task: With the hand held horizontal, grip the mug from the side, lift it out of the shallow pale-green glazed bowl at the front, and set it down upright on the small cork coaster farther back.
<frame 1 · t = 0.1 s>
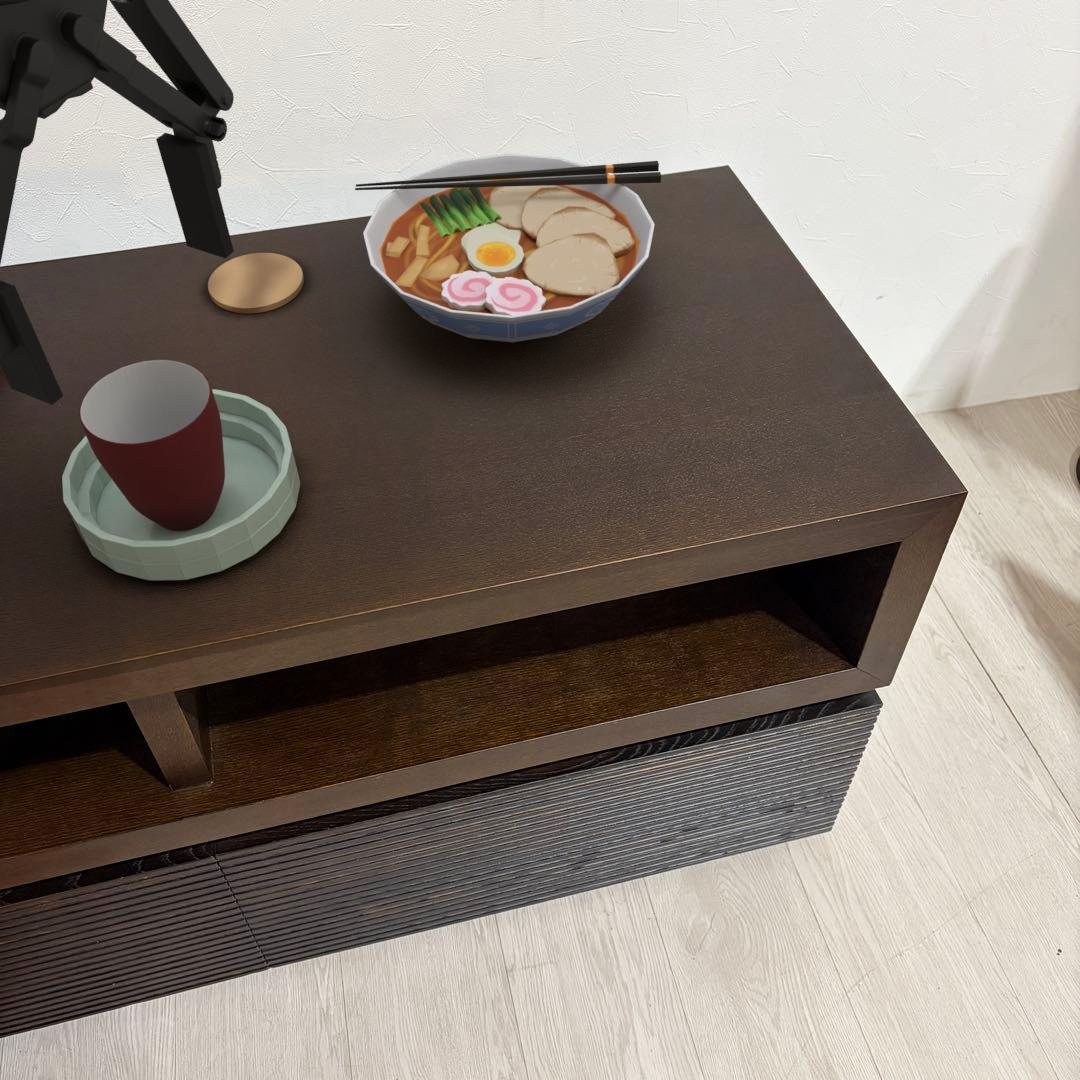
hand: (130, 316, 58), 20 cm above the table, tool pointing down, fingers open, 13 cm apart
coaster: (256, 285, 94), on the table
mug: (191, 499, 76), resting on serving bowl
ramen bowl: (512, 307, 92), on the table
serving bowl: (192, 503, 77), on the table
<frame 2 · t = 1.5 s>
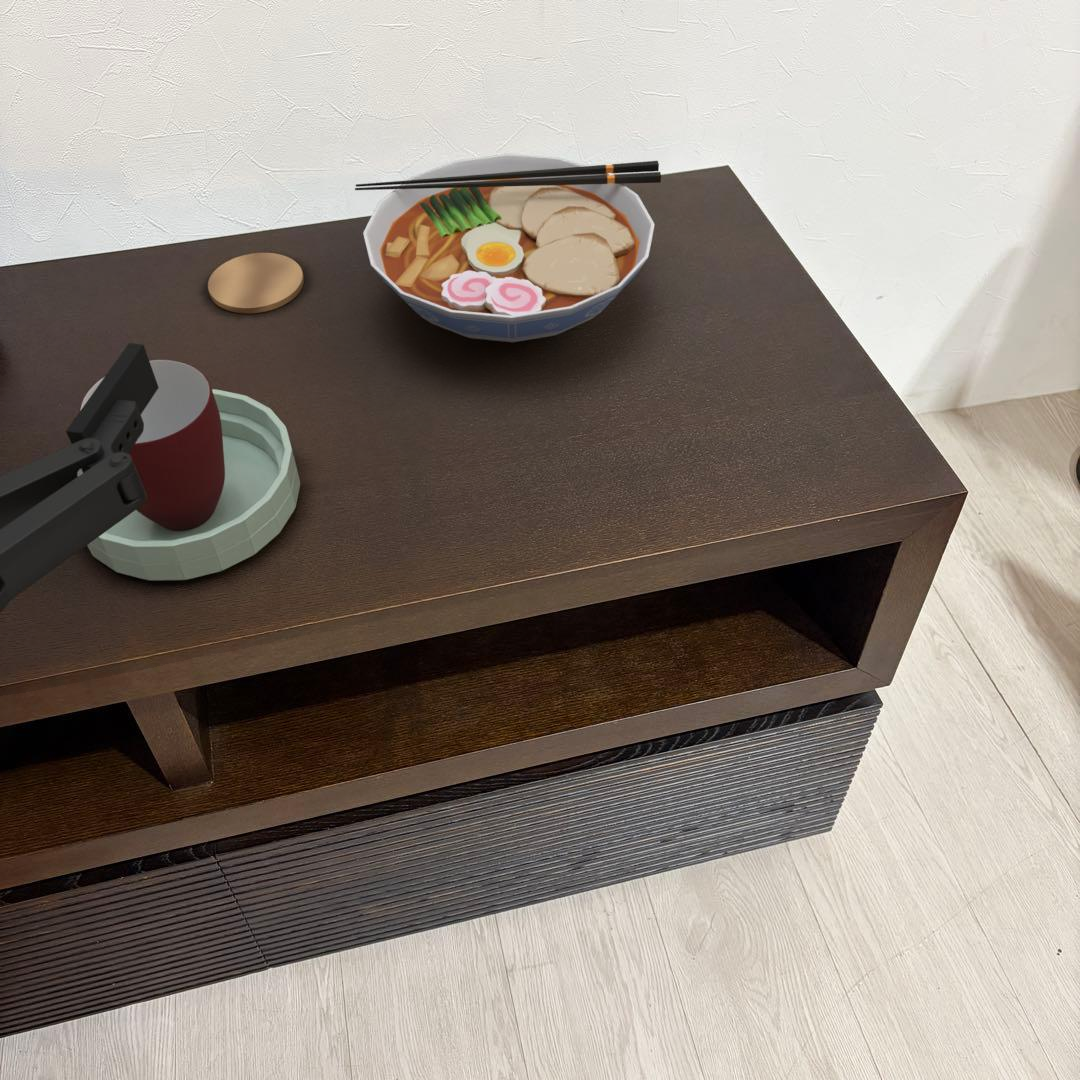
hand: (19, 350, 55), 21 cm above the table, tool horizontal, fingers open, 13 cm apart
nothing on the table moved.
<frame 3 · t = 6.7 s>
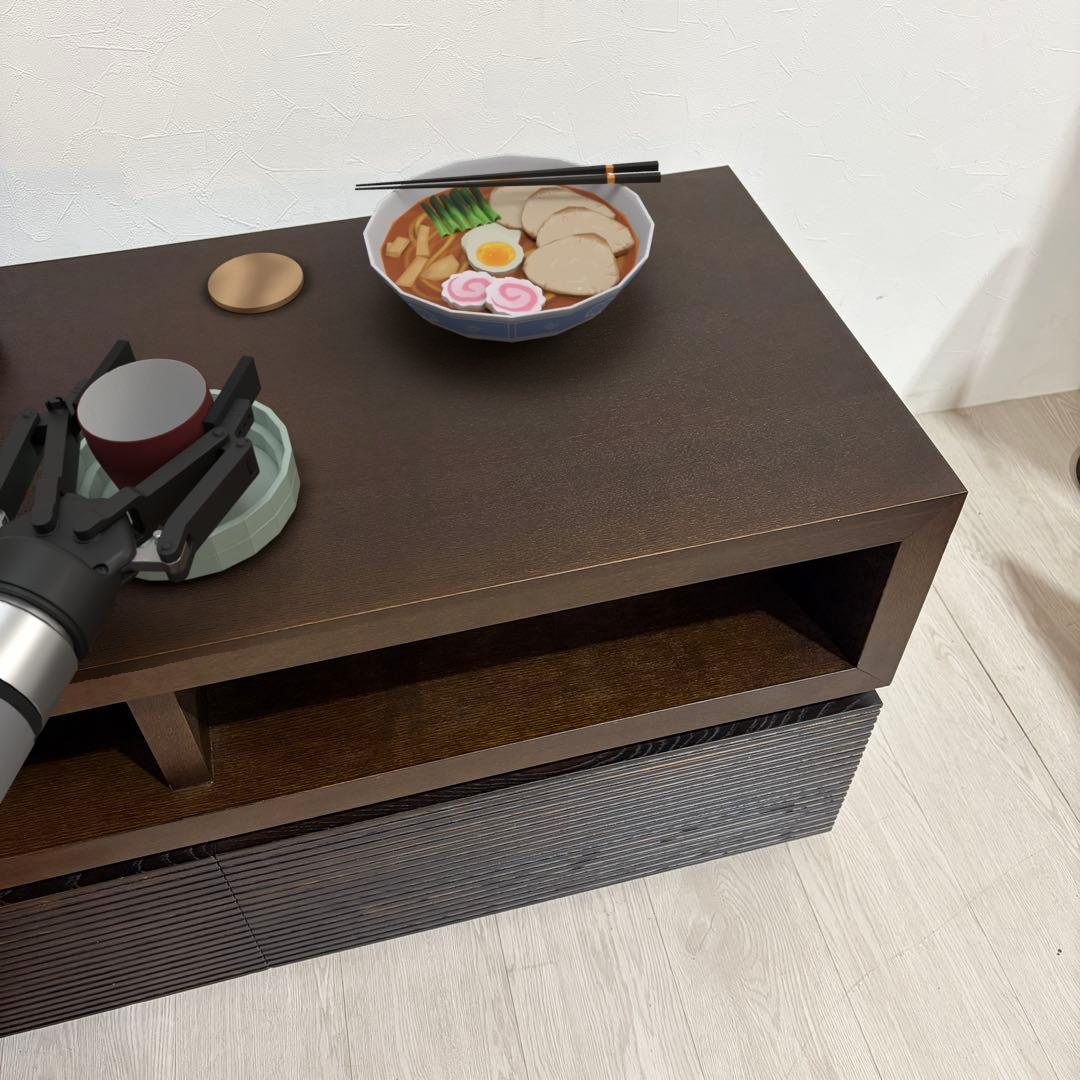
hand: (190, 364, 73), 9 cm above the table, tool horizontal, fingers closed on mug, 8 cm apart
mug: (191, 499, 76), resting on serving bowl, touching gripper
everything else where it was.
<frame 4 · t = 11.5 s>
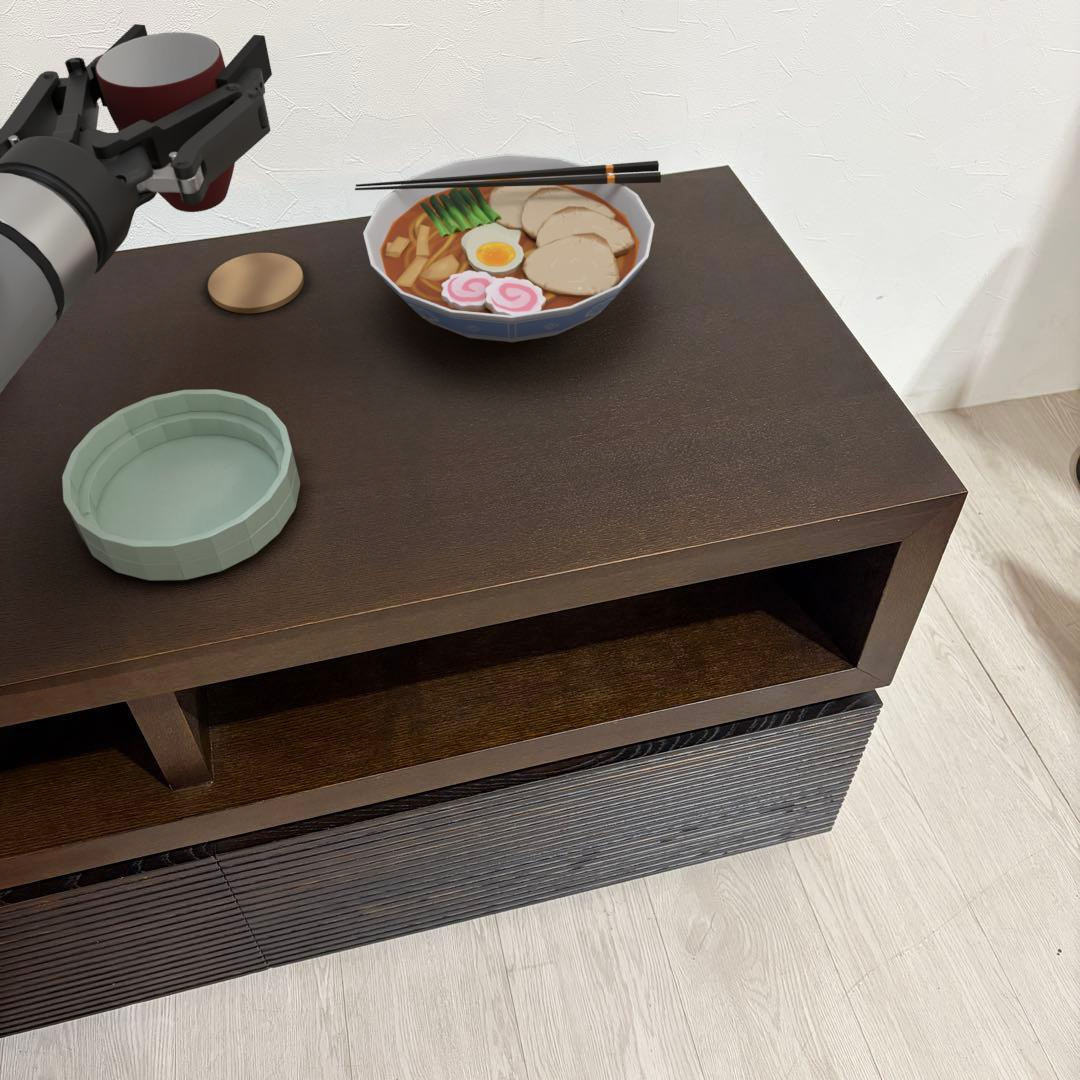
hand: (203, 49, 76), 21 cm above the table, tool horizontal, fingers closed on mug, 8 cm apart
mug: (203, 191, 79), point 13 cm above the table, touching gripper
everything else where it was.
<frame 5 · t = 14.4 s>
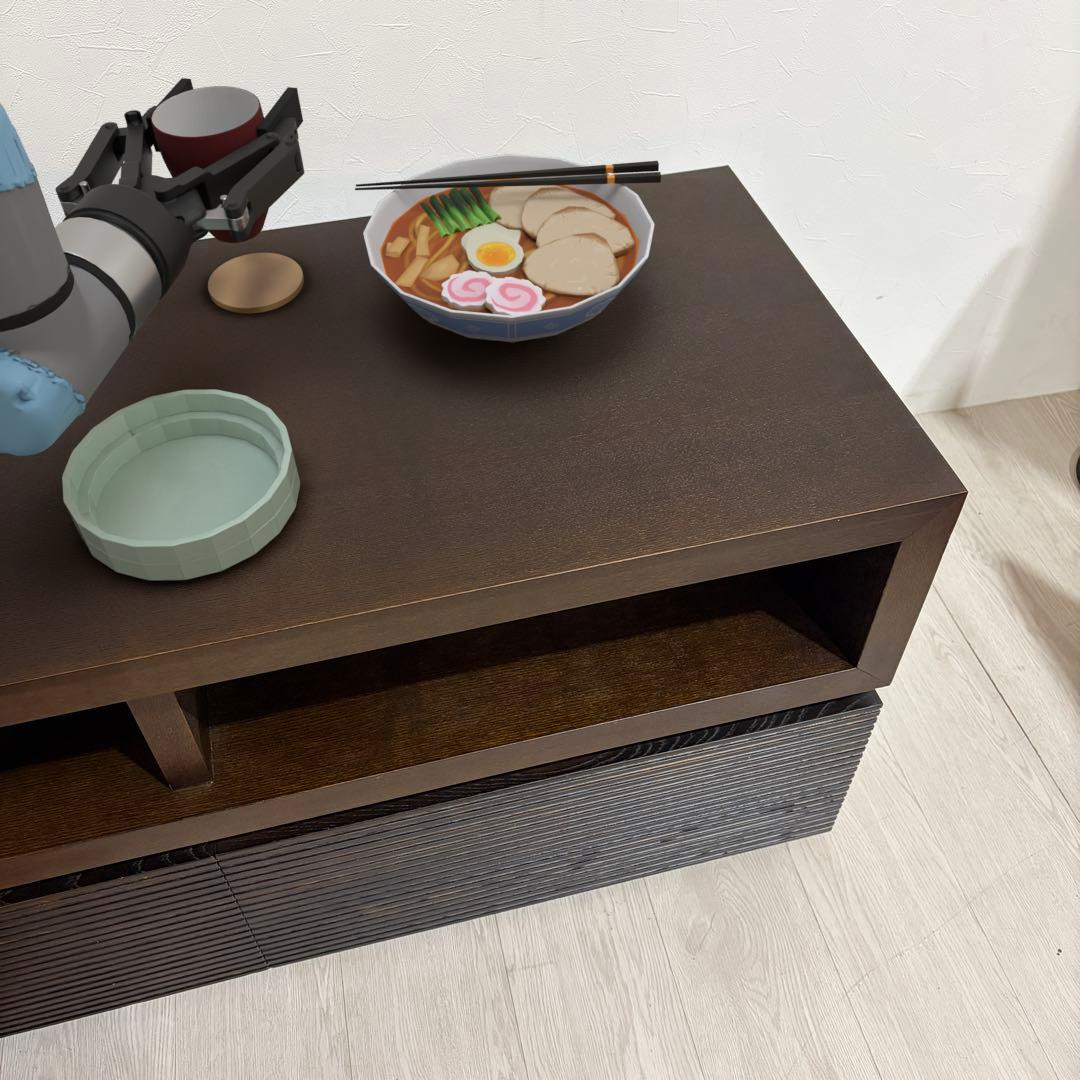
hand: (242, 99, 86), 14 cm above the table, tool horizontal, fingers closed on mug, 8 cm apart
mug: (242, 223, 89), point 6 cm above the table, touching gripper
everything else where it was.
when the fingers open (8 cm above the table, at t = 16.5 s): mug stays where it is, resting on coaster.
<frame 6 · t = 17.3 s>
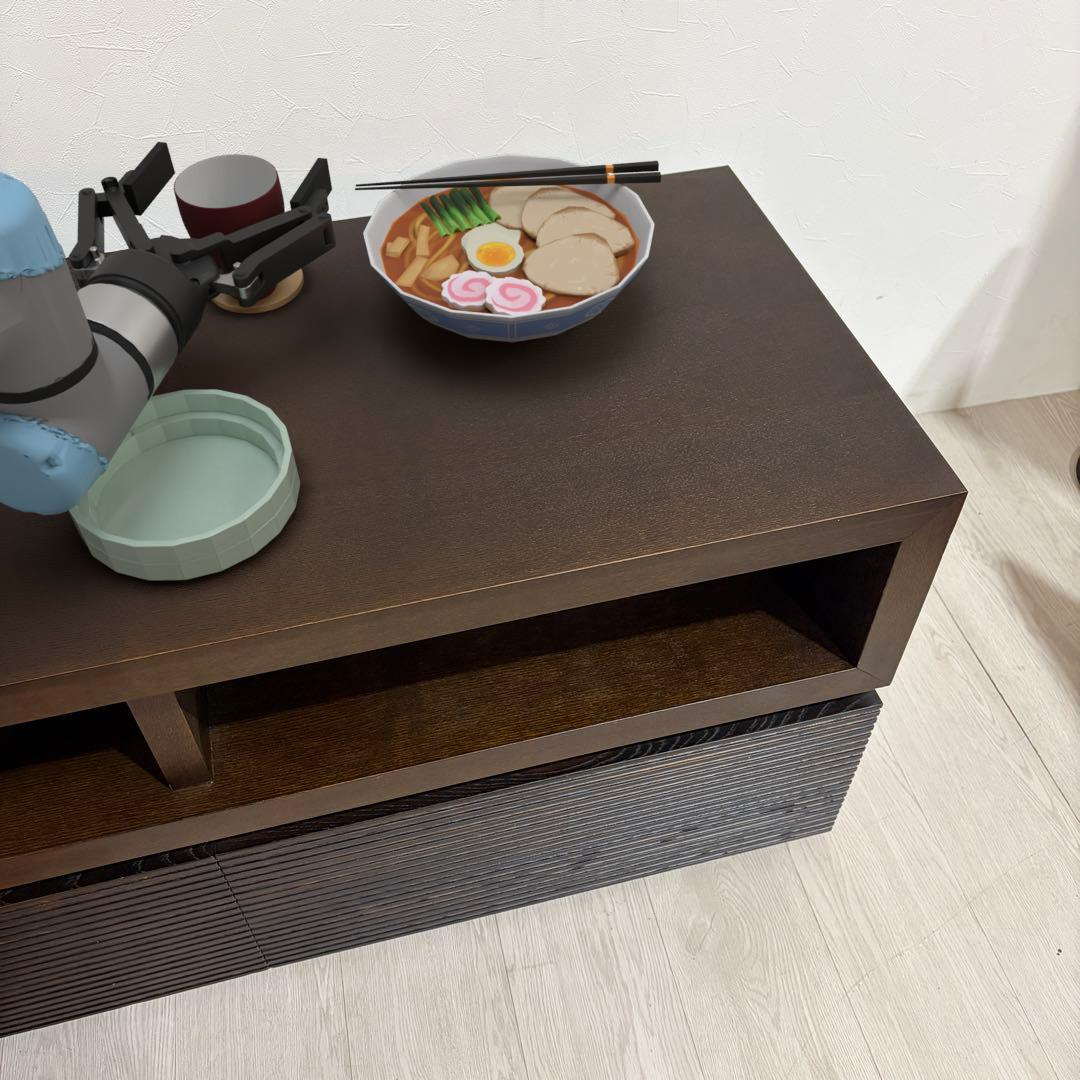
hand: (245, 165, 89), 9 cm above the table, tool horizontal, fingers open, 13 cm apart
mug: (256, 281, 93), resting on coaster
everything else where it was.
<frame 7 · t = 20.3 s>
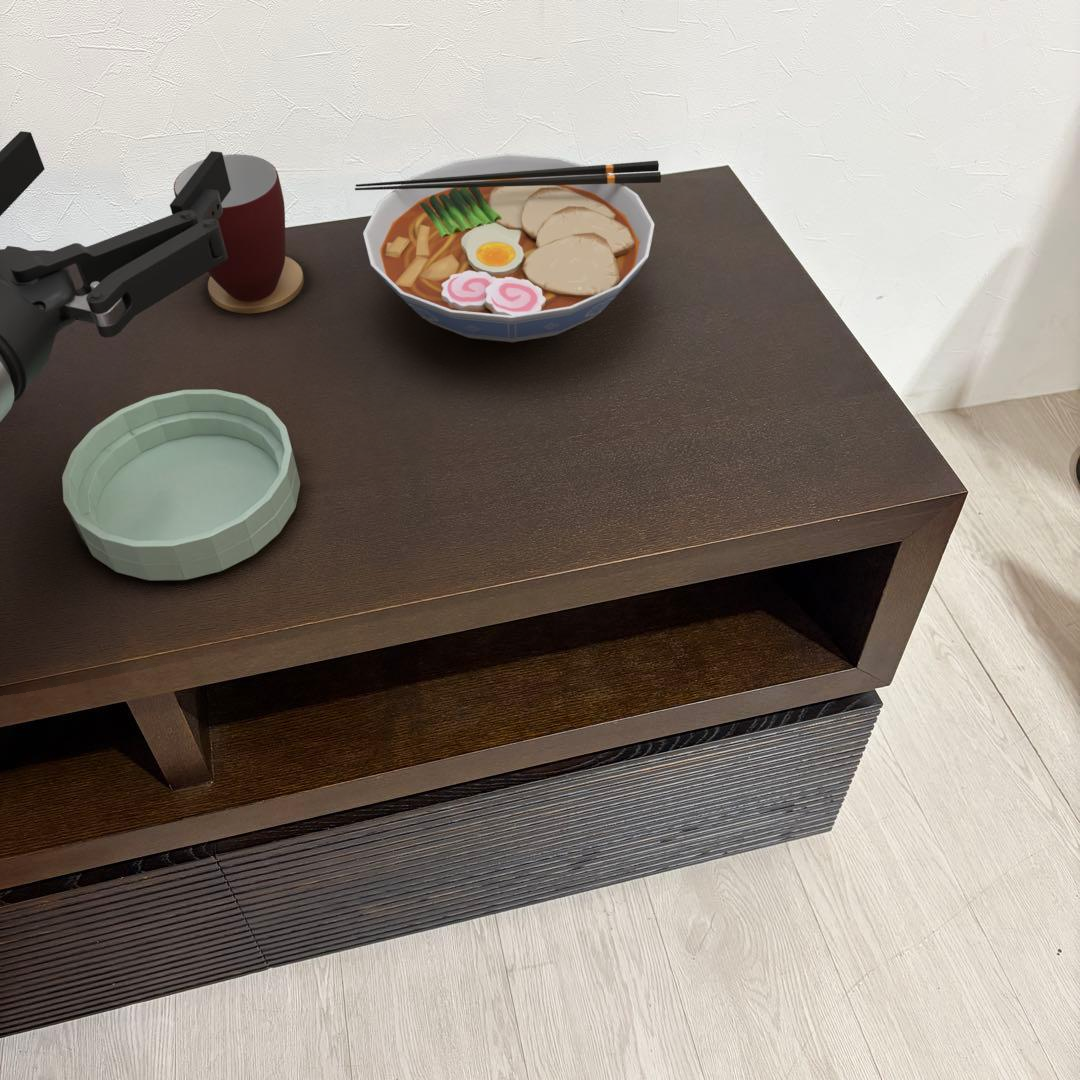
hand: (126, 159, 73), 18 cm above the table, tool horizontal, fingers open, 13 cm apart
nothing on the table moved.
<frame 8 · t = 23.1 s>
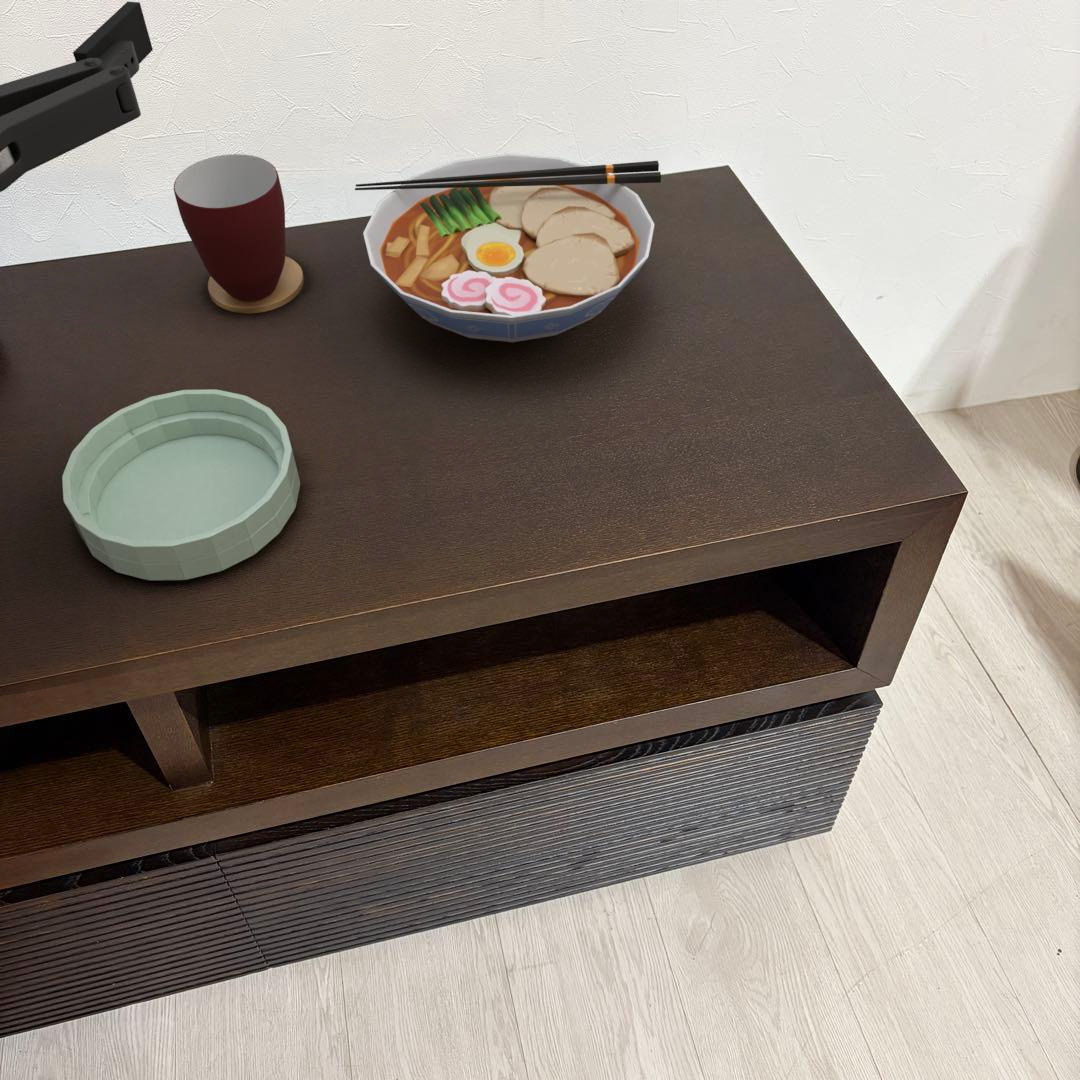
hand: (33, 16, 64), 28 cm above the table, tool horizontal, fingers open, 13 cm apart
nothing on the table moved.
at the end: mug inside the target area on the coaster (0.0 cm from its centre), point 0.4 cm above the coaster's base; mug tilted 0°; mug touching coaster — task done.
